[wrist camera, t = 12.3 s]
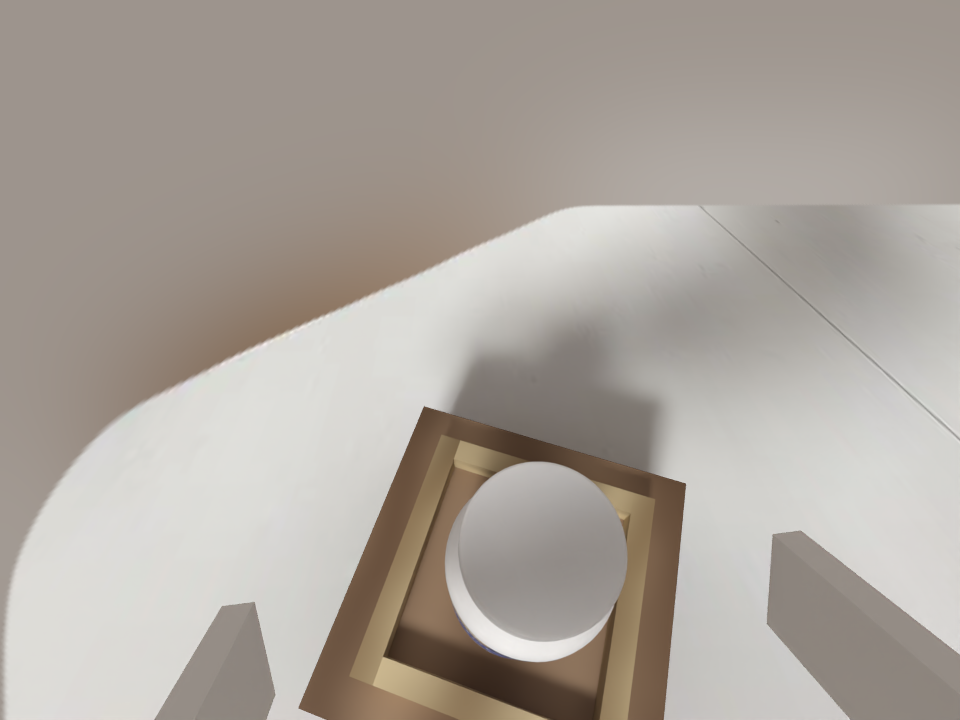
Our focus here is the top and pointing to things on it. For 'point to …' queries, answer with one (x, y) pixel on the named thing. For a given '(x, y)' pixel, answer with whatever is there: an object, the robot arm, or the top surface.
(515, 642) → the pill bottle
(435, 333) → the top surface
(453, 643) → the tray
